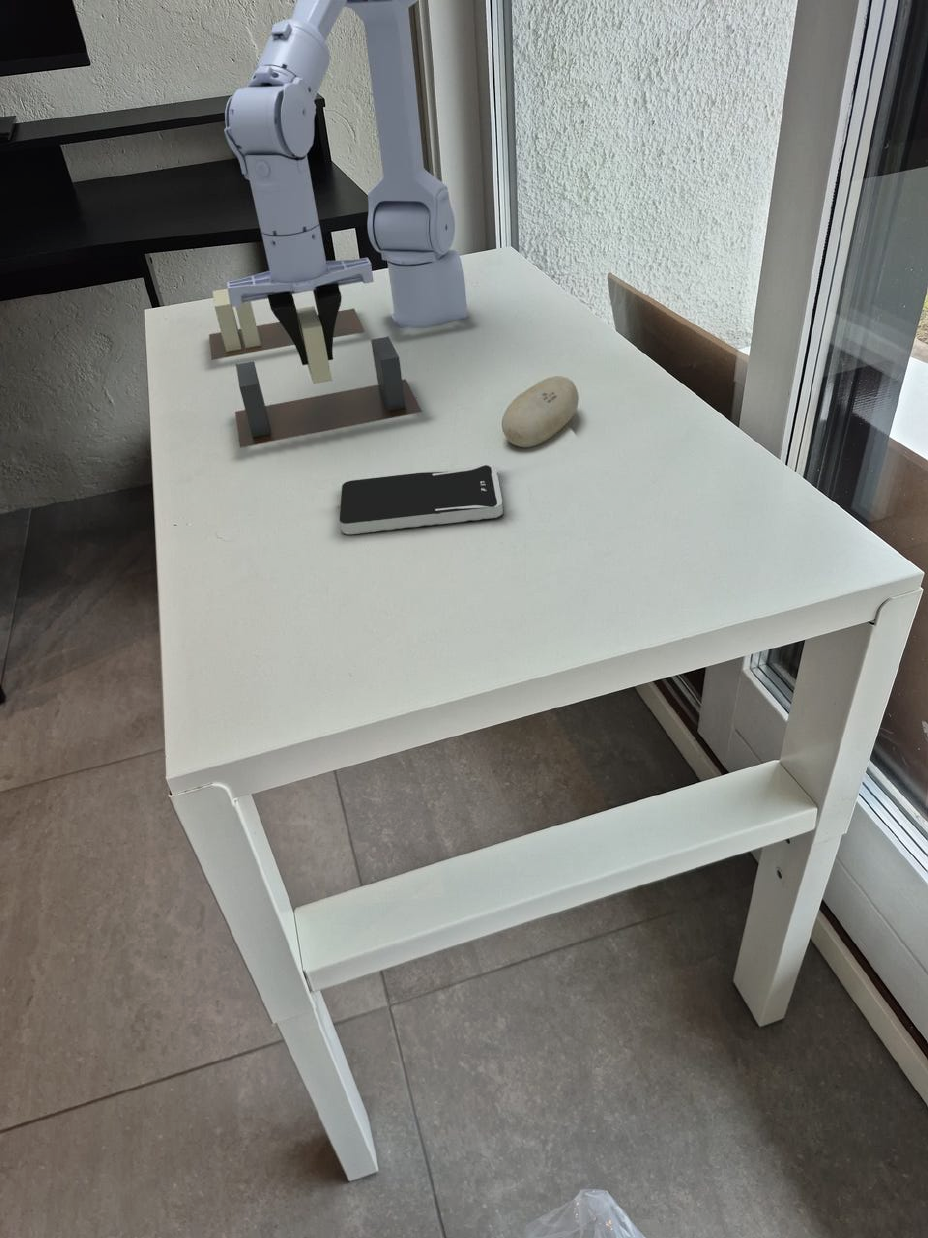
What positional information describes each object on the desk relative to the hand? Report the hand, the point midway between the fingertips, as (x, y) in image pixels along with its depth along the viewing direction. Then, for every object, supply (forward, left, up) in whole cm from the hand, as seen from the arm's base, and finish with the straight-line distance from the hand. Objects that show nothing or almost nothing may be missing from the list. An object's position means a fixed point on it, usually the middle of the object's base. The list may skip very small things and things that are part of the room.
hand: (316, 359), depth 97 cm
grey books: (0, 0, -6) cm, 6 cm away
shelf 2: (0, 0, -7) cm, 7 cm away
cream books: (+8, -25, -6) cm, 27 cm away
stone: (-21, +13, -7) cm, 26 cm away
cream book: (0, 0, -1) cm, 1 cm away
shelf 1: (+2, -25, -7) cm, 26 cm away
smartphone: (-6, +22, -7) cm, 24 cm away
